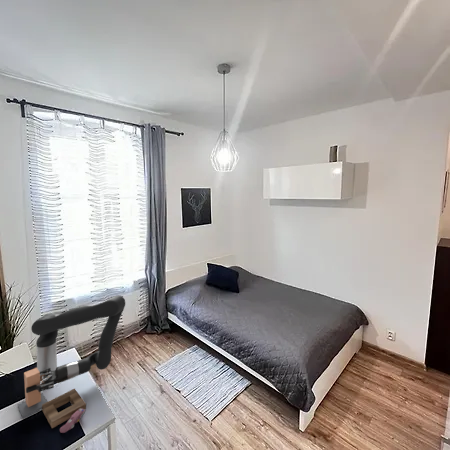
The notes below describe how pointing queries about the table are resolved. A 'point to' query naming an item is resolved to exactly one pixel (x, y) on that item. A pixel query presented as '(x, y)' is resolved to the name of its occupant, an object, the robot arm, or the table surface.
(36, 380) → the terracotta block
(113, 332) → the robot arm
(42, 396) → the slate pad
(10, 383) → the table surface
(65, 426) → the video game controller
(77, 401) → the walnut pocket block
